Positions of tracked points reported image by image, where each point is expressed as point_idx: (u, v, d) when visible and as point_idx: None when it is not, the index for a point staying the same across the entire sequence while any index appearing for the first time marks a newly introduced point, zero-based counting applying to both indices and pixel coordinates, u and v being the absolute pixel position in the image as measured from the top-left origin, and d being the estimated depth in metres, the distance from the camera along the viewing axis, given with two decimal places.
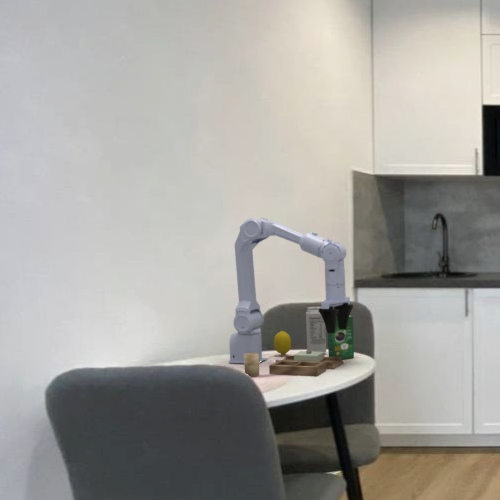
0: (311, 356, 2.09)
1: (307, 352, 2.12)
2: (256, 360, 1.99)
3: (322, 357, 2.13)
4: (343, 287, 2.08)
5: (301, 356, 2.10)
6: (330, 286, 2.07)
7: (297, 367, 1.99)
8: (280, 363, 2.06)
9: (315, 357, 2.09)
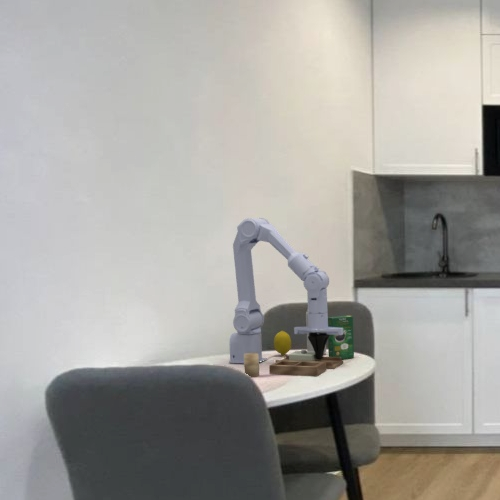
0: (306, 356, 2.10)
1: (302, 352, 2.13)
2: (256, 360, 1.99)
3: None
4: (313, 316, 2.09)
5: (296, 356, 2.11)
6: None
7: (297, 367, 1.99)
8: (280, 363, 2.06)
9: (310, 357, 2.09)
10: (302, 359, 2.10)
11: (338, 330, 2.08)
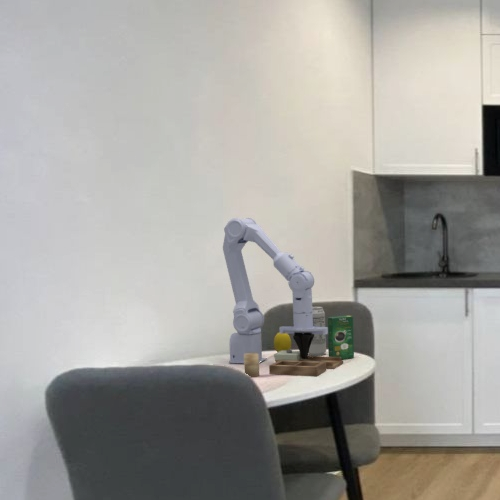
0: (291, 355, 2.12)
1: (287, 351, 2.15)
2: (256, 360, 1.99)
3: None
4: (298, 316, 2.11)
5: (281, 355, 2.13)
6: None
7: (297, 367, 1.99)
8: (280, 363, 2.06)
9: (295, 356, 2.11)
10: (287, 358, 2.12)
11: (323, 330, 2.10)
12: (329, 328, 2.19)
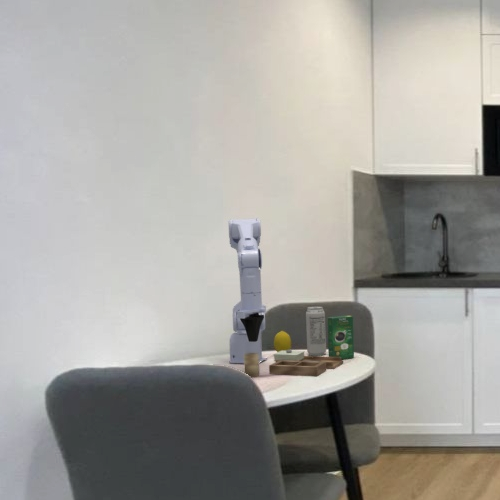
0: (291, 355, 2.12)
1: (287, 351, 2.15)
2: (256, 360, 1.99)
3: (302, 356, 2.16)
4: (259, 295, 1.99)
5: (281, 355, 2.13)
6: (246, 294, 1.98)
7: (297, 367, 1.99)
8: (280, 363, 2.06)
9: (295, 356, 2.11)
10: (287, 358, 2.12)
11: (264, 307, 2.06)
12: (329, 328, 2.19)
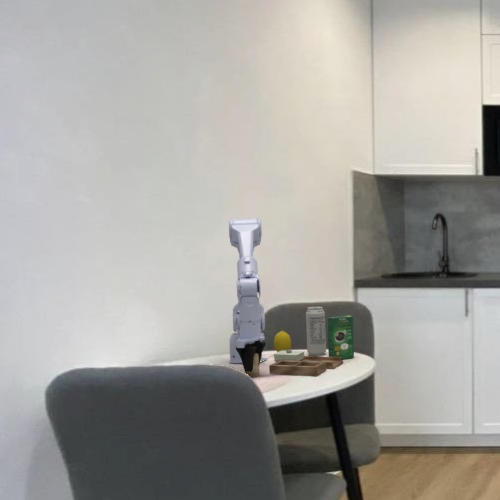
0: (291, 355, 2.12)
1: (287, 351, 2.15)
2: (256, 360, 1.99)
3: (302, 356, 2.16)
4: (258, 324, 1.99)
5: (281, 355, 2.13)
6: (245, 323, 1.98)
7: (297, 367, 1.99)
8: (280, 363, 2.06)
9: (295, 356, 2.11)
10: (287, 358, 2.12)
11: (263, 335, 2.06)
12: (329, 328, 2.19)
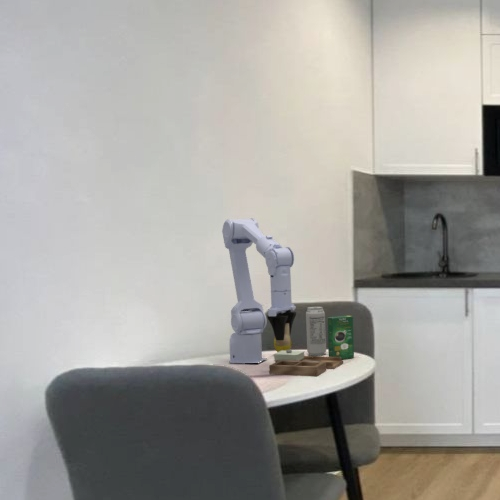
0: (291, 355, 2.12)
1: (287, 351, 2.15)
2: (287, 329, 2.02)
3: (302, 356, 2.16)
4: (289, 293, 2.02)
5: (281, 355, 2.13)
6: (276, 292, 2.01)
7: (297, 367, 1.99)
8: (280, 363, 2.06)
9: (295, 356, 2.11)
10: (287, 358, 2.12)
11: (293, 305, 2.09)
12: (329, 328, 2.19)
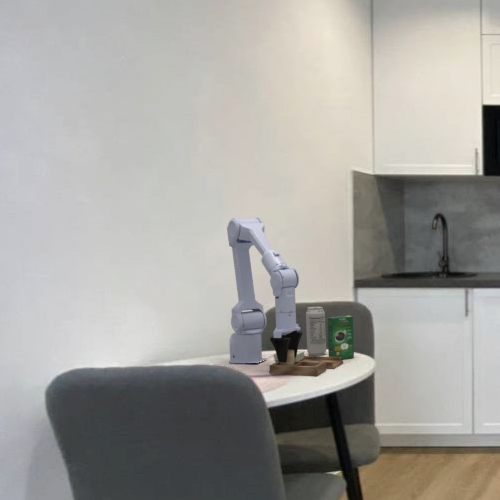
0: None
1: None
2: (292, 356, 2.03)
3: (302, 356, 2.16)
4: (294, 314, 2.02)
5: None
6: (281, 314, 2.01)
7: (297, 367, 1.99)
8: None
9: None
10: None
11: (297, 326, 2.09)
12: (329, 328, 2.19)
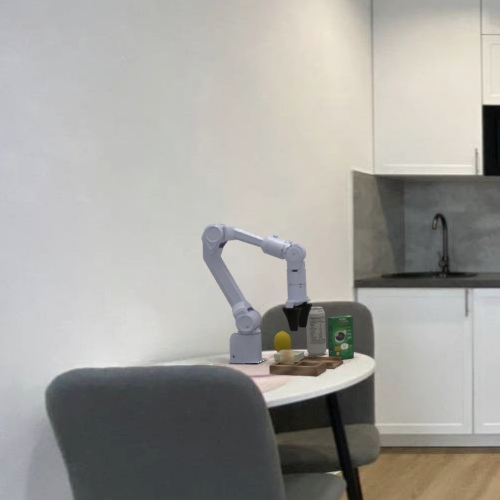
0: None
1: None
2: (292, 356, 2.03)
3: (302, 356, 2.16)
4: (305, 287, 2.16)
5: None
6: (293, 286, 2.15)
7: (297, 367, 1.99)
8: None
9: (295, 356, 2.11)
10: None
11: (307, 298, 2.23)
12: (329, 328, 2.19)
